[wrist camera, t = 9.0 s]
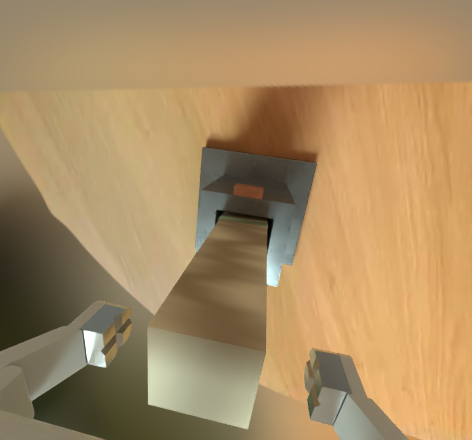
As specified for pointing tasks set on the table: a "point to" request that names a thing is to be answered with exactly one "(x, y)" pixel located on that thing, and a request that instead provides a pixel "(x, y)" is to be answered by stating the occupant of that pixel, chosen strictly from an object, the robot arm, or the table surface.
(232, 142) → the table surface
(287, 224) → the jack sleeve
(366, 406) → the robot arm
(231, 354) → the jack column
